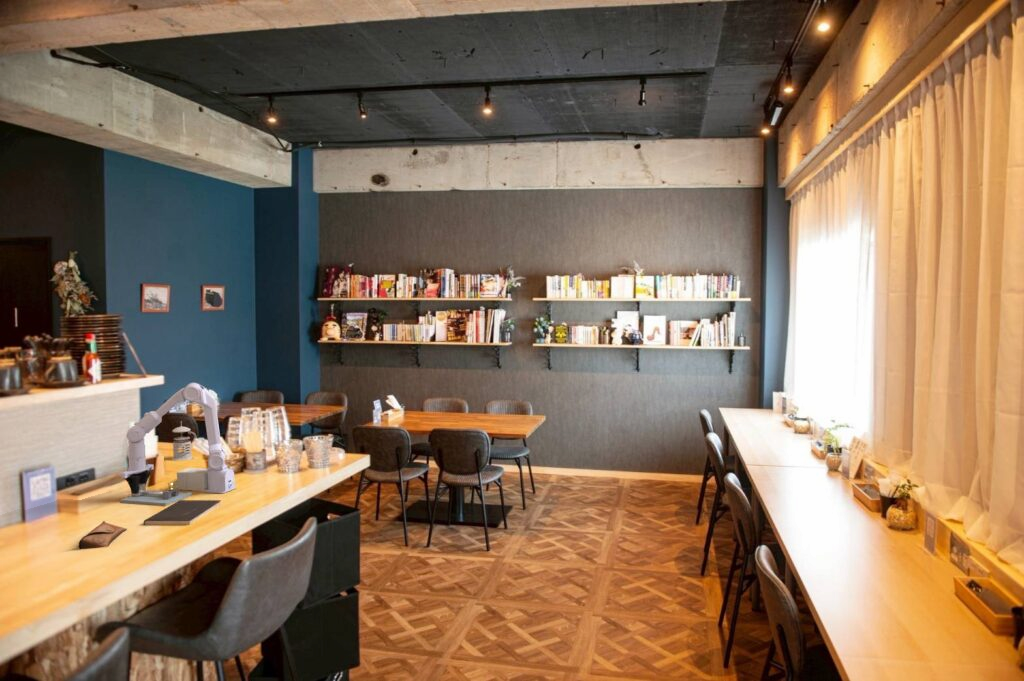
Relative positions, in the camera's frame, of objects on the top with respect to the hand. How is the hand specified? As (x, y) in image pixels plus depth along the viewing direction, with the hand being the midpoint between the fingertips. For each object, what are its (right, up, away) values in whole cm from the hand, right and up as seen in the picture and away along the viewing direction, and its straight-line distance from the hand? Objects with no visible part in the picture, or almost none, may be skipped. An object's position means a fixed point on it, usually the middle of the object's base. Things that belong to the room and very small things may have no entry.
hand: (138, 492), depth 267 cm
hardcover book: (+28, -4, -21) cm, 35 cm away
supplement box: (+10, +2, +14) cm, 18 cm away
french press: (-14, +1, +68) cm, 69 cm away
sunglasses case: (+14, -5, -46) cm, 48 cm away
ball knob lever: (+14, +2, -1) cm, 14 cm away
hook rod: (+5, -1, -1) cm, 5 cm away
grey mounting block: (+14, -2, -3) cm, 15 cm away
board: (+8, -2, -2) cm, 8 cm away
